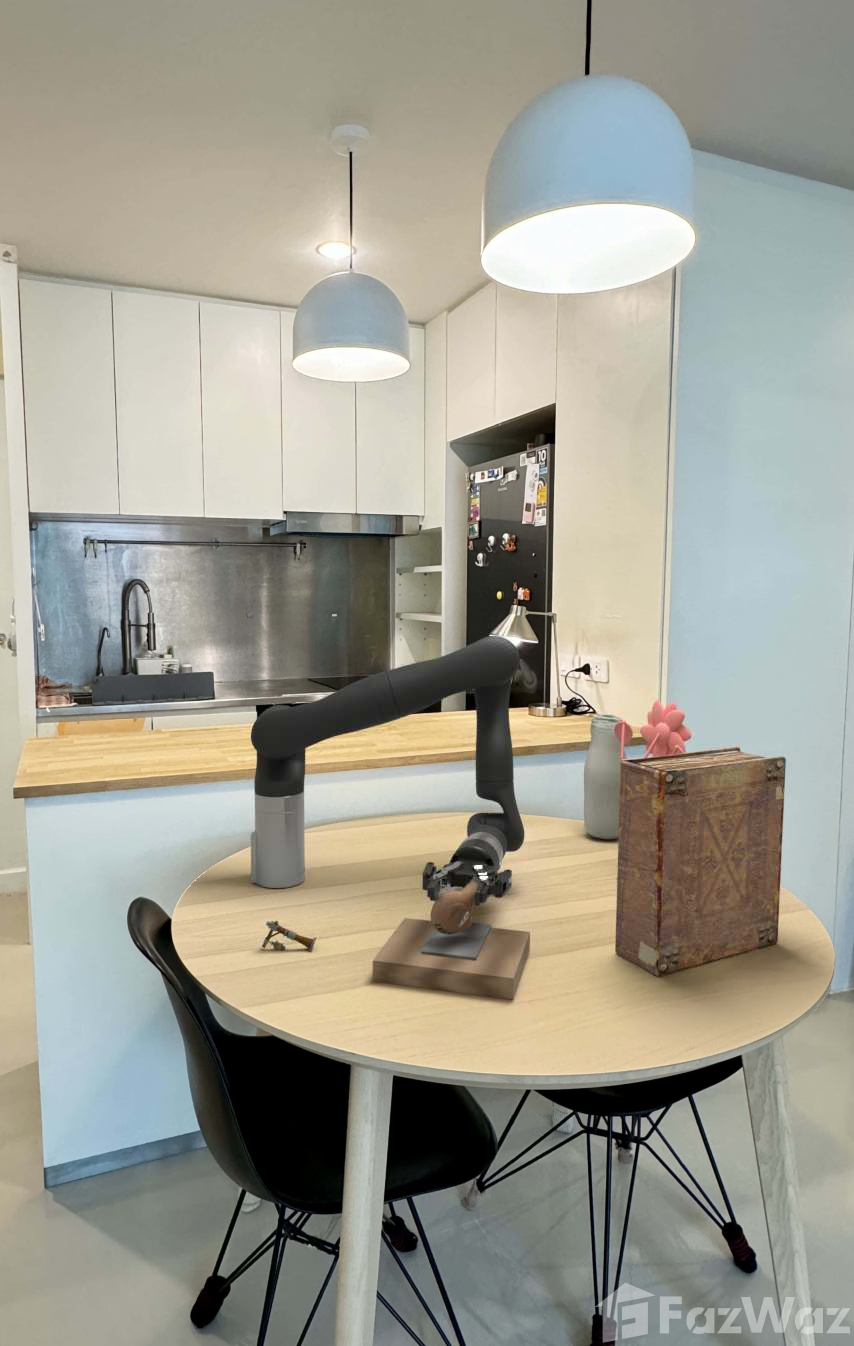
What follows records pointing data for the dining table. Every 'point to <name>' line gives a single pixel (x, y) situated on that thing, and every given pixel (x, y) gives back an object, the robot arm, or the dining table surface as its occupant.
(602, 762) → the glass bottle
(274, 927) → the wooden blunderbuss cannon
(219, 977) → the dining table surface
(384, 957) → the wooden block
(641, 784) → the book
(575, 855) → the dining table surface
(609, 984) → the dining table surface
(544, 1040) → the dining table surface
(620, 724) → the pink flower ornament
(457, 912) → the oil lamp
